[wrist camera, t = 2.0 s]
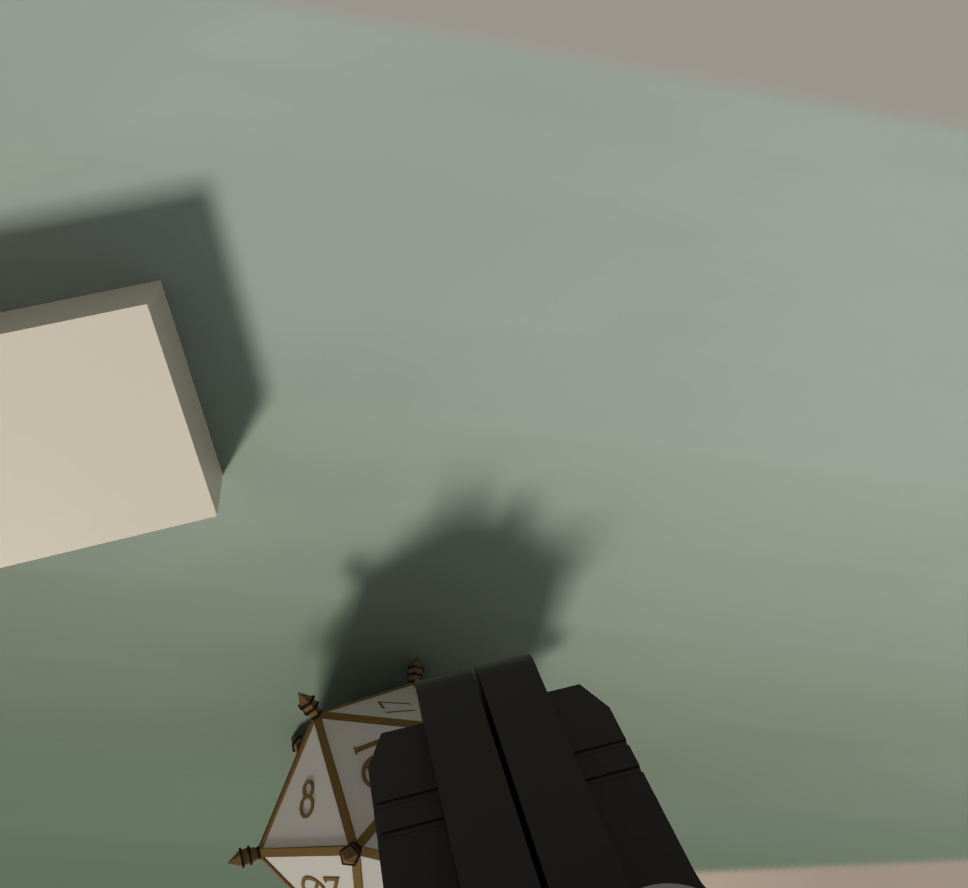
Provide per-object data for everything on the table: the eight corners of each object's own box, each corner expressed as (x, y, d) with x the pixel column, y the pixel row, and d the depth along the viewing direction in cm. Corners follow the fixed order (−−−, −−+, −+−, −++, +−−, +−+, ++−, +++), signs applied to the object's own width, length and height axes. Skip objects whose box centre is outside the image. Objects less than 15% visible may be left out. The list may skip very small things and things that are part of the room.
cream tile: (161, 277, 24) (147, 303, 21) (223, 470, 27) (217, 516, 24) (-67, 323, 23) (-113, 357, 21) (18, 518, 26) (-12, 570, 23)
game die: (366, 703, 35) (306, 995, 30) (240, 612, 29) (134, 960, 23) (580, 699, 32) (558, 1030, 26) (489, 595, 26) (435, 1000, 20)
